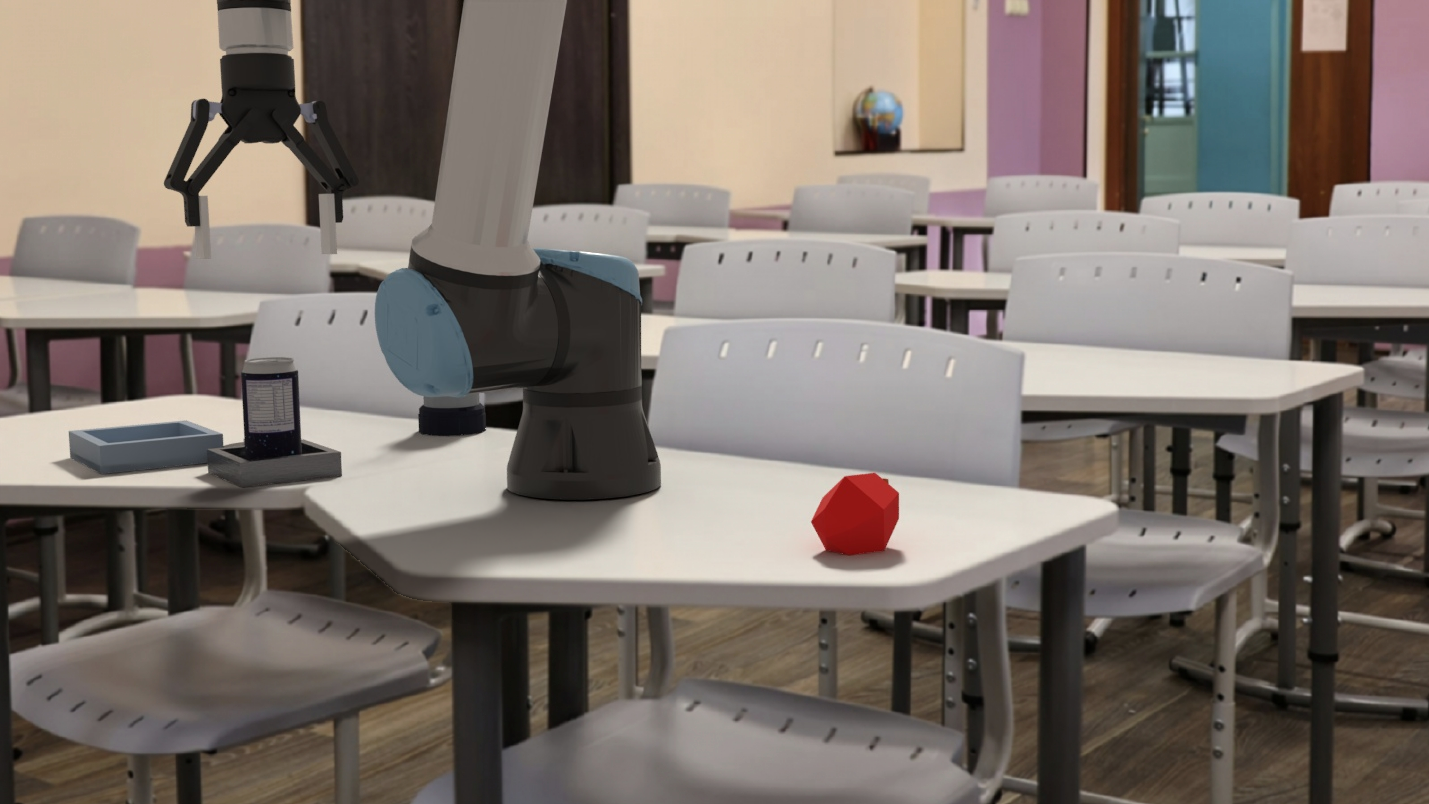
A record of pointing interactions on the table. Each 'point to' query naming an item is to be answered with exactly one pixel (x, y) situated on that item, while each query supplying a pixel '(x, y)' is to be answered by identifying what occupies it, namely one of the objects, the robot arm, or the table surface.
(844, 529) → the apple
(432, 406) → the humidifier
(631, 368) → the robot arm
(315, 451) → the grey flat rectangular frame
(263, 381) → the beverage can
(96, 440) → the tray
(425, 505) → the table surface
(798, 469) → the table surface
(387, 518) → the table surface
